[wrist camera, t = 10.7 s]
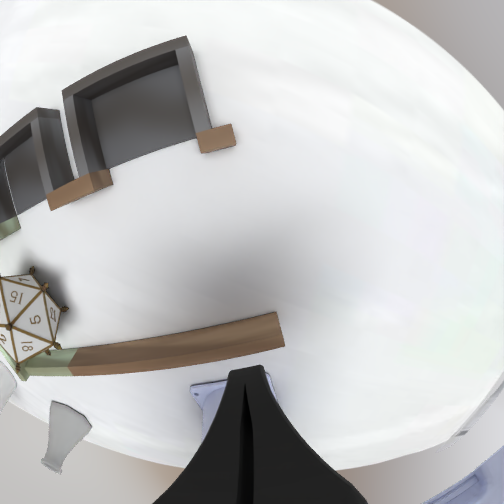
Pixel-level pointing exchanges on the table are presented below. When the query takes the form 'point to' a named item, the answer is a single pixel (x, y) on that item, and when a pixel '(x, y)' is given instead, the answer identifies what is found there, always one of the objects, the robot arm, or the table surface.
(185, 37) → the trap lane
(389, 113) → the table surface
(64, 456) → the flask
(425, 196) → the table surface
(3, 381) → the spray bottle
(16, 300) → the game die
